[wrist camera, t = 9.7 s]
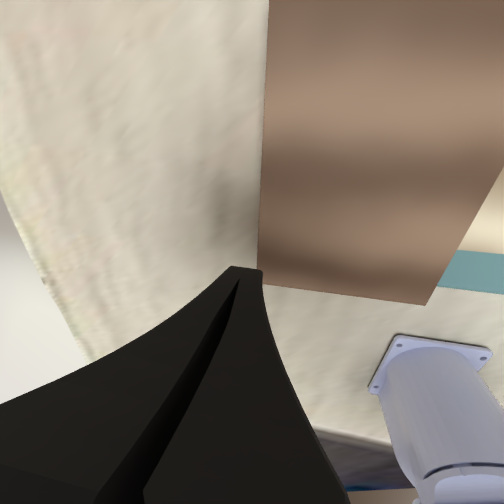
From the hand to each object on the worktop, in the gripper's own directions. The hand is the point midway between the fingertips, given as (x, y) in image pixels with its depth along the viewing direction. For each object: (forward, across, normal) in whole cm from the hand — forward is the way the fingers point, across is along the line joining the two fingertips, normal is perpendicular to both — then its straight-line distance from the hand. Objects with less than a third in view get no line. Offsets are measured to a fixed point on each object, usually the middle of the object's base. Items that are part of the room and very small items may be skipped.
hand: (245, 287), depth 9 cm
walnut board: (+10, -6, -3) cm, 11 cm away
